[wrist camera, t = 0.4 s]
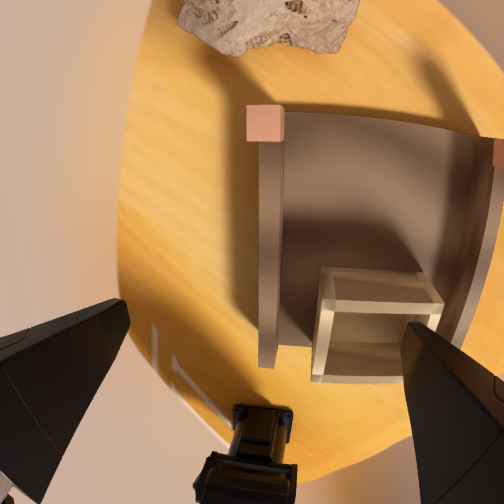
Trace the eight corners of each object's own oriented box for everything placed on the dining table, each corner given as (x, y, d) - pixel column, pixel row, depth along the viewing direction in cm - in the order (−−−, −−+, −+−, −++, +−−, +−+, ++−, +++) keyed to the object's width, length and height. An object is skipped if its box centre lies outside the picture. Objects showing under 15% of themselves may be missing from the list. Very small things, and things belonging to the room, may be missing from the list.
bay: (439, 343, 23) (460, 391, 18) (263, 337, 26) (250, 388, 20) (484, 138, 16) (532, 147, 11) (264, 112, 19) (246, 105, 13)
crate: (403, 345, 23) (414, 382, 19) (312, 343, 24) (310, 381, 20) (423, 272, 20) (444, 303, 16) (320, 266, 22) (322, 299, 17)
